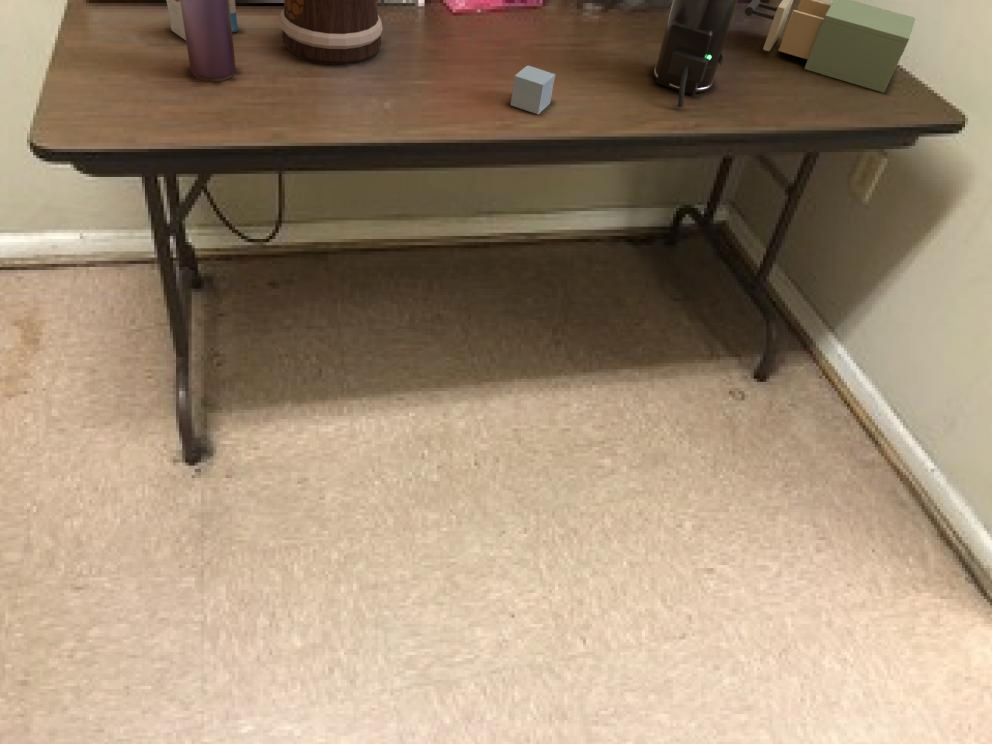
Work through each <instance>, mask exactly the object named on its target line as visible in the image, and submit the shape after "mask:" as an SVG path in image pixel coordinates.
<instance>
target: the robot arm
mask: <svg viewBox="0 0 992 744" xmlns="http://www.w3.org/2000/svg"><path fill="white" fill-rule="evenodd" d="M738 2H739V0H672V4H671V7H670V12H669V15H668V18H667V23H666V27H665V30H664V35H663V36H662V37H663V38H662V42H661V45H660V46H661V47H660V50H659V52H658V53H659V54H658V57H657V60H656V64H655V67H654V70H653V77H654V79H656V81H655V82H656V84H657V85H659V86H663V87H665V88H669V89H672V90H675V91H678V97H677V107H678V108H683V107H684V103H685V94H687V95H692V96H694V95H695V94H696V93H697V94H698V93H703V92H707V91H709V90H710V89H711V88H712V86H713V83H714V78H715V75H716V72H717V68H718V65H719V66H720V67H722V64H723V59H724V56H723V54H722V52H723V49H724V47H725V43H726V40H727V37H728V34H729V30H730V28H731V23H732V20H733V17H734V15H735V12H736V8H737V5H738Z"/></svg>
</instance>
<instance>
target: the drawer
mask: <svg viewBox="0 0 992 744" xmlns="http://www.w3.org/2000/svg"><path fill="white" fill-rule="evenodd" d="M793 3H794V0H781V2H780V3H779V5H778V6H774V5H771V4H767V3H763V2H761V0H751V1H750V3H749V4H748V5H747V6H746V7H745V9H744V14H745V16H746V17H751V16H752V15H755V16H757V17H762V18H766V19H769V20H772V22H771V26H770V27H769V30H768V34H767V36H766V39H765V43H764V45H763V48H762V50H763V51H766V52H771V50H772V48H773V47H774V45H775V44H776V42H777V41H778V39H779V37H780V36H781V35H782V32H783V30H784V27H785V25H786V21H787V19H788V16H789V13H790V11H791V8H792V6H793ZM831 4H832V3H828V2H826V1H820V0H800V1H799V4H798V7H797V9H793V10H792V12H791V14H790V18H789V20H788V22H787V26H786V28H785V31H784V34H783V37H782V40H781V42H780V45H779V48H778V52H781V53H784V54H787V55H790V56H791V55H792V56H794V57H798V58H800V59H805V60H808V58H809V55H810V53H811V50H812V48H813V45H814V43H815V40H816V38H817V35H818V32H819V30H820V27H821V25H822V22H823V20H824V17H825V15H826V13H827V11H828V10H829V8H830V6H831ZM758 8H762V9H765V10H769V11H772V12H775V14H771V13H768V12H764V11H761V10H757V9H758Z"/></svg>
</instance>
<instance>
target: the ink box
mask: <svg viewBox="0 0 992 744" xmlns="http://www.w3.org/2000/svg"><path fill="white" fill-rule="evenodd" d="M165 1H166V4H167V5H166V6H167V12H168V19H169V24H170V30H171V31H172V32H173V33H174V34H176V35H177V36H179V37H180V38H181V39H183V40H184V41H186V36H185V29H184V22H183V15H182V8H181V1H180V0H165ZM229 8H230V17H231V27H232V33H237V32H238V31H239V27H238V18H237V17H238V16H237V7H236V0H229Z"/></svg>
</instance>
